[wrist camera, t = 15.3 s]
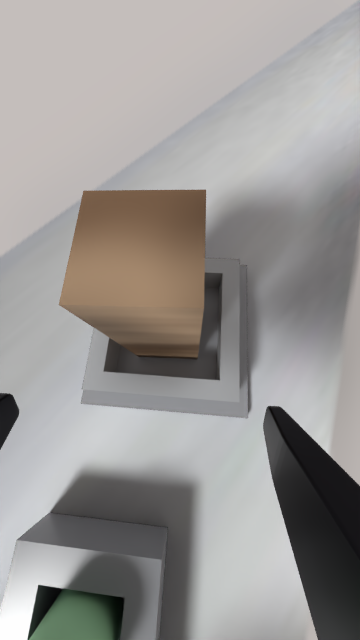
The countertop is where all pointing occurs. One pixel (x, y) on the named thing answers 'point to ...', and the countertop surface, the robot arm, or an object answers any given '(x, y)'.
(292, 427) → the robot arm
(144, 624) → the switch box
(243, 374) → the grey square socket
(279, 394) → the countertop surface
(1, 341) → the countertop surface
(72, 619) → the button
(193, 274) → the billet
